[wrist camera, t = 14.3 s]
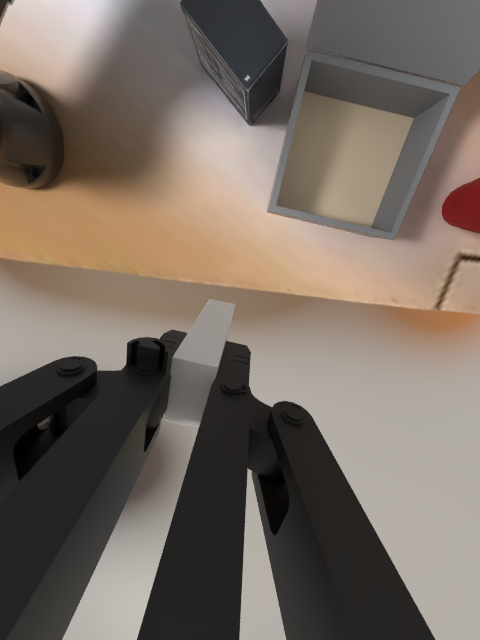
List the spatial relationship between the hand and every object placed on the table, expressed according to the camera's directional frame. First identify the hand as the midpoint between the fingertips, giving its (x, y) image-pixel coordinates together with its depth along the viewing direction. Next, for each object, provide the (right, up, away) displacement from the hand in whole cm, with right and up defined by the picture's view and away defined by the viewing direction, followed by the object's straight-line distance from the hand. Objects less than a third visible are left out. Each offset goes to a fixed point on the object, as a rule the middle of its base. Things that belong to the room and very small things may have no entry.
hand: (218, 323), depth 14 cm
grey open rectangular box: (+16, +24, +24) cm, 38 cm away
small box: (+2, +35, +21) cm, 41 cm away
